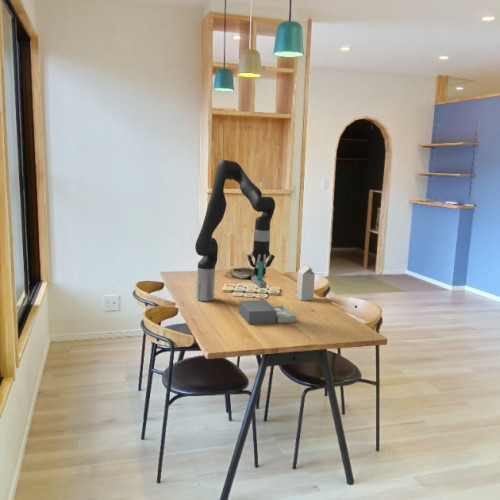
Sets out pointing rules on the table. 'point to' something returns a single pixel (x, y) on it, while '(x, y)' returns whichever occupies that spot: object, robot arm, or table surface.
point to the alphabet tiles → (250, 290)
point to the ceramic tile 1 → (281, 313)
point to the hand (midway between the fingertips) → (259, 275)
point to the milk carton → (305, 283)
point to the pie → (242, 272)
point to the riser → (257, 312)
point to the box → (285, 319)
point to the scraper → (259, 277)
